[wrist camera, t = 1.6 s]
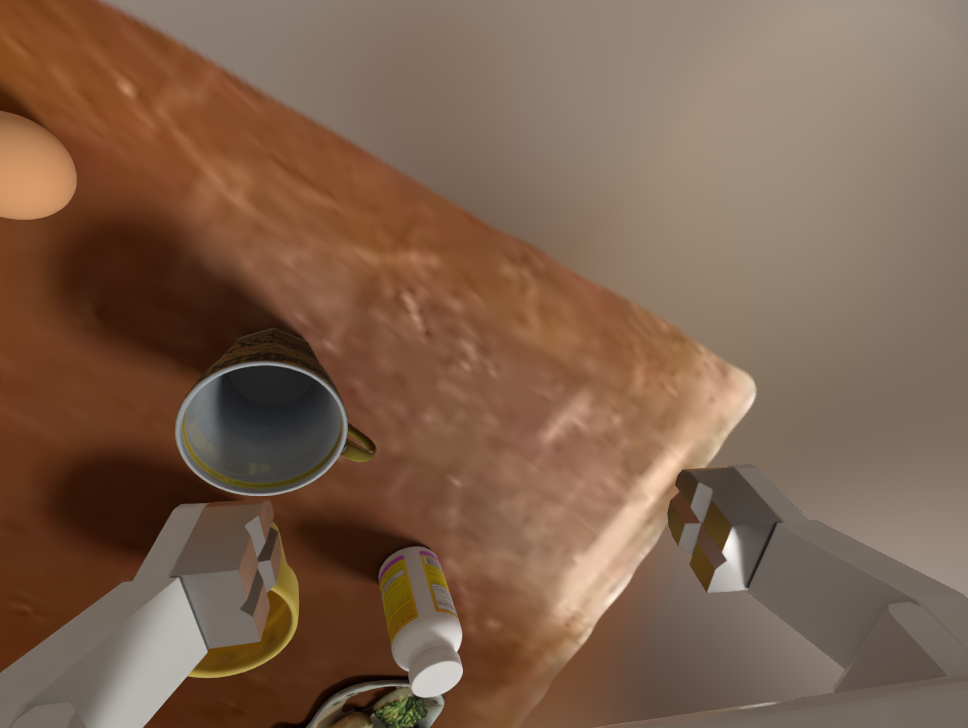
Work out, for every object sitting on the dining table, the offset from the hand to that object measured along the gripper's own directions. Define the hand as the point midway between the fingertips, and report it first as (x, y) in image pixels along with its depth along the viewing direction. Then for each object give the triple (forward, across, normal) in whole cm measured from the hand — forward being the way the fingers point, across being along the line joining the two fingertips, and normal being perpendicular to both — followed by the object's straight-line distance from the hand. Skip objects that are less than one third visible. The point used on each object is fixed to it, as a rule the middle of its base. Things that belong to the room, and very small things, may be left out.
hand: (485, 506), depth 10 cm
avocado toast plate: (+28, -8, -64) cm, 70 cm away
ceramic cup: (+30, -11, -13) cm, 34 cm away
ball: (+25, -23, +3) cm, 34 cm away
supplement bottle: (+30, -3, -38) cm, 49 cm away
